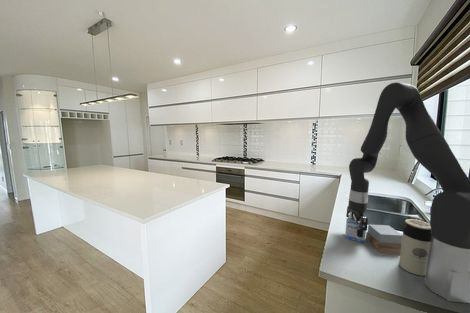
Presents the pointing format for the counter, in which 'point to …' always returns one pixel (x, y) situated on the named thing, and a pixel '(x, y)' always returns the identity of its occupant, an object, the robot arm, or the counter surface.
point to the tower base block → (383, 245)
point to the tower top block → (385, 234)
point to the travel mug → (415, 246)
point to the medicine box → (353, 231)
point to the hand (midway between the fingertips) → (354, 231)
